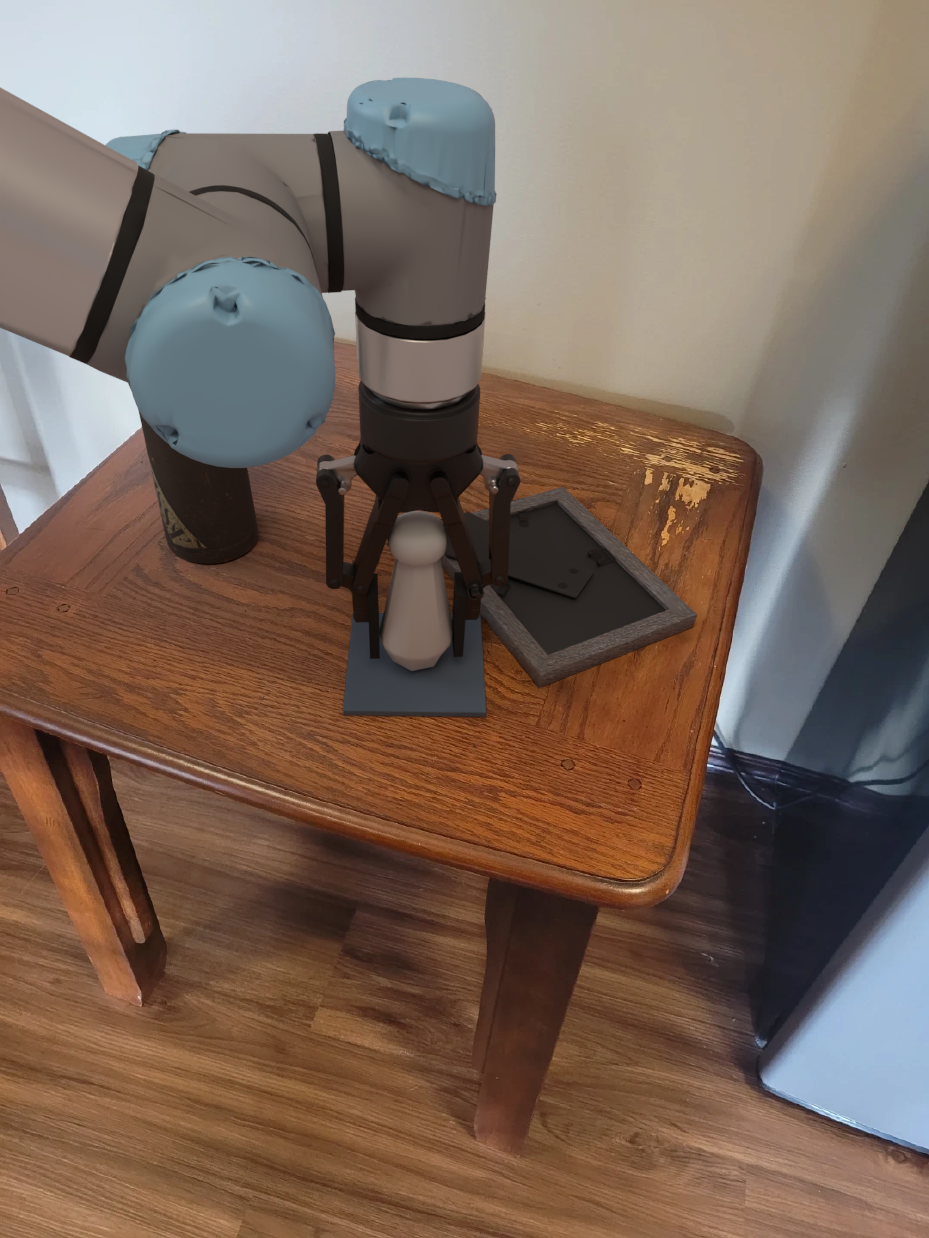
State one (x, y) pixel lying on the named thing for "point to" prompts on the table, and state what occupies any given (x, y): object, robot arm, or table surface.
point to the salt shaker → (417, 593)
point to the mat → (415, 680)
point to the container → (201, 504)
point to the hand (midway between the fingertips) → (416, 645)
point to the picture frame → (569, 589)
